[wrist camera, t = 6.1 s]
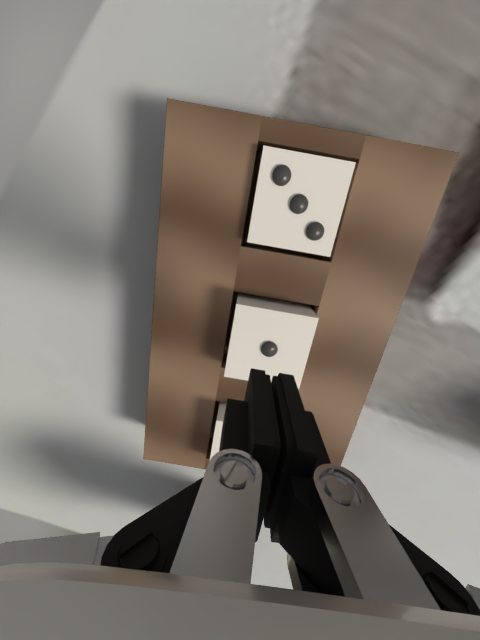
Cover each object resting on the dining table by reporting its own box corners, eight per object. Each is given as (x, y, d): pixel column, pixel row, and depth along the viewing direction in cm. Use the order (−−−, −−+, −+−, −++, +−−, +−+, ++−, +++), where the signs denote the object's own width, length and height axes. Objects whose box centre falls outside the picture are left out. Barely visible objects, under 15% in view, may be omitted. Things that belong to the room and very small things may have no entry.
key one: (238, 293, 16) (236, 304, 14) (309, 305, 17) (319, 318, 14) (227, 356, 18) (223, 377, 15) (292, 368, 18) (299, 390, 16)
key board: (182, 122, 15) (167, 98, 13) (421, 166, 16) (459, 152, 13) (156, 429, 23) (143, 458, 20) (321, 457, 23) (331, 489, 20)
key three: (261, 158, 15) (263, 144, 13) (339, 172, 15) (356, 161, 13) (247, 240, 16) (246, 242, 14) (318, 252, 16) (330, 257, 14)
